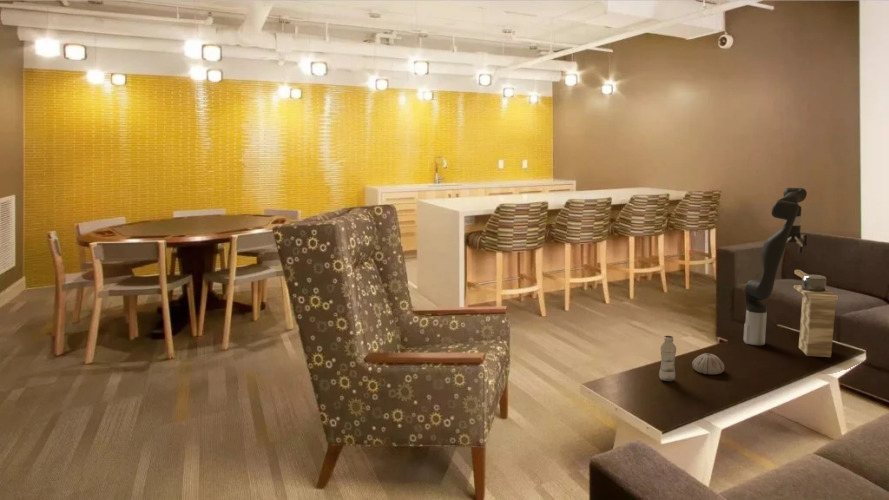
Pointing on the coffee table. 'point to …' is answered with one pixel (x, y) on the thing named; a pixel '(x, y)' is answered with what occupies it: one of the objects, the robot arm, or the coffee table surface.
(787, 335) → the coffee table surface
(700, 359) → the sea urchin shell
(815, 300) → the stand
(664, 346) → the plastic bottle
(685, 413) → the coffee table surface
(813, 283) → the saucepan
